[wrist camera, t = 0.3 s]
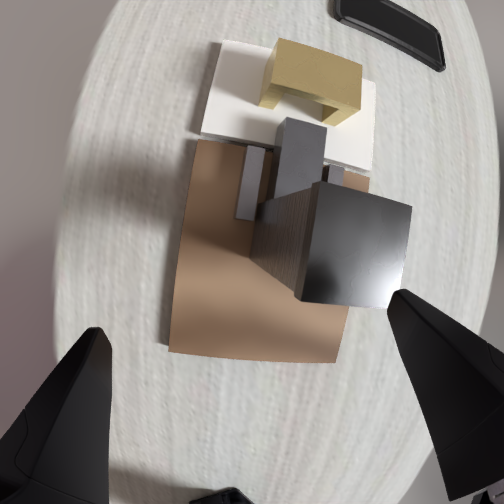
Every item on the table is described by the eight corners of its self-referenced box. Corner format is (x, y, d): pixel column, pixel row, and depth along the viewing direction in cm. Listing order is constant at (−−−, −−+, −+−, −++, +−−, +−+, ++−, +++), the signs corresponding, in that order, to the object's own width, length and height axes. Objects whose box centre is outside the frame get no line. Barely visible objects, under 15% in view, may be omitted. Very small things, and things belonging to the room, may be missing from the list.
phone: (446, 73, 24) (335, 16, 21) (440, 76, 25) (331, 21, 22) (439, 29, 23) (337, -24, 21) (434, 32, 25) (333, -19, 22)
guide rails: (325, 234, 23) (335, 235, 21) (232, 218, 21) (235, 217, 19) (334, 171, 22) (344, 168, 20) (244, 151, 21) (248, 145, 19)
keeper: (334, 126, 22) (360, 109, 18) (257, 106, 21) (271, 82, 16) (338, 86, 22) (362, 65, 17) (265, 65, 20) (278, 37, 16)
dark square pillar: (302, 268, 22) (394, 309, 11) (247, 260, 21) (300, 301, 10) (321, 138, 21) (415, 82, 10) (269, 125, 21) (333, 45, 9)
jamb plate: (364, 172, 24) (371, 171, 23) (200, 135, 21) (200, 131, 20) (370, 87, 23) (375, 83, 22) (222, 45, 21) (223, 39, 20)
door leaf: (330, 358, 25) (335, 362, 24) (169, 346, 22) (168, 351, 21) (363, 179, 24) (369, 177, 23) (198, 142, 21) (198, 139, 20)
